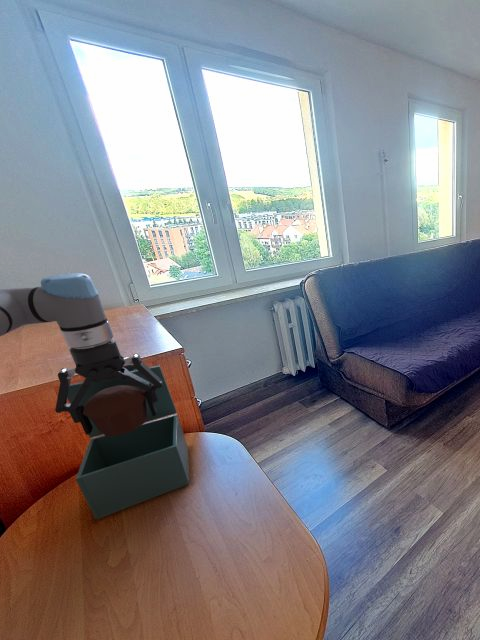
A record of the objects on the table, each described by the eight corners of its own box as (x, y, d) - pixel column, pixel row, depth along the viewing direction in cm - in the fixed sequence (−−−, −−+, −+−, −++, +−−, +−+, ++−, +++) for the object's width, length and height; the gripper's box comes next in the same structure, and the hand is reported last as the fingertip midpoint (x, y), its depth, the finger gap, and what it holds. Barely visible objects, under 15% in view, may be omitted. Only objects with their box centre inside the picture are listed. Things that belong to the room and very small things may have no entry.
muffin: (159, 406, 90) (148, 374, 86) (147, 431, 80) (135, 396, 77) (102, 418, 85) (88, 384, 81) (83, 446, 76) (66, 409, 72)
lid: (159, 366, 88) (159, 351, 93) (61, 388, 78) (67, 370, 83) (176, 413, 96) (175, 397, 102) (89, 438, 87) (93, 419, 92)
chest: (189, 483, 89) (176, 446, 85) (95, 519, 79) (75, 479, 75) (188, 448, 102) (177, 413, 97) (107, 475, 92) (90, 438, 87)
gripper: (5, 363, 65) (50, 450, 73) (157, 336, 78) (182, 412, 86) (19, 349, 71) (59, 431, 79) (159, 326, 84) (182, 398, 92)
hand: (123, 421), depth 82 cm, fingers closed on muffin, 12 cm apart
